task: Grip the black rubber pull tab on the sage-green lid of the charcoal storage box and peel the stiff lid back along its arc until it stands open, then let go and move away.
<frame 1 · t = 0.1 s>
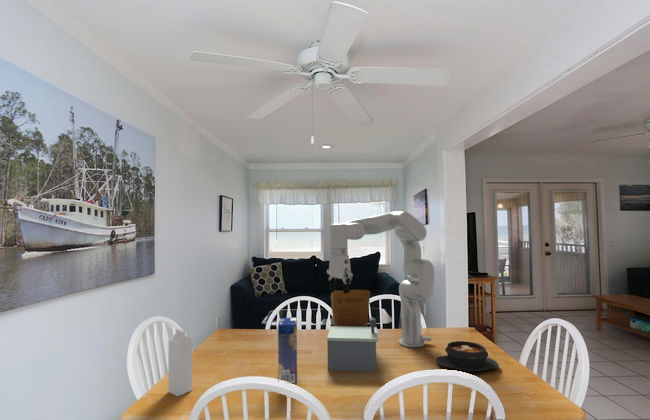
hand: (339, 291, 159), 31 cm above the table, tool pointing down, fingers open, 9 cm apart
beverage box: (288, 377, 145), on the table
pancake mix bag: (351, 346, 180), on the table
storage box: (352, 363, 158), on the table
casserole: (466, 367, 154), on the table
lid: (329, 334, 160), point 12 cm above the table, hinge at 0.0°
milk: (180, 391, 133), on the table
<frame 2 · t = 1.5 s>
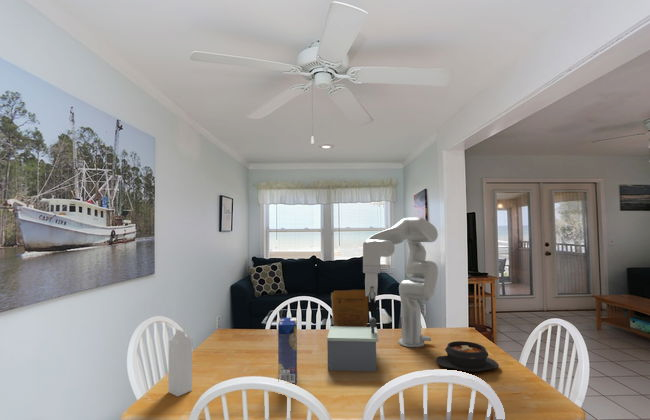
hand: (371, 309, 158), 24 cm above the table, tool pointing down, fingers open, 9 cm apart
nothing on the table moved.
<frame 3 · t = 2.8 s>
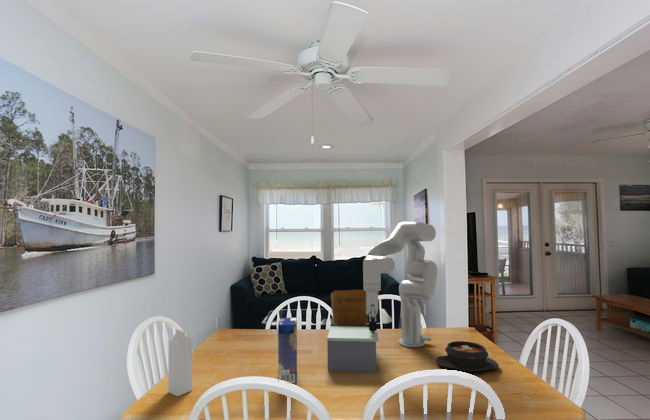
hand: (372, 328, 158), 15 cm above the table, tool pointing down, fingers closed on lid, 5 cm apart
lid: (329, 334, 160), point 12 cm above the table, hinge at 0.0°, touching gripper
everything else where it was.
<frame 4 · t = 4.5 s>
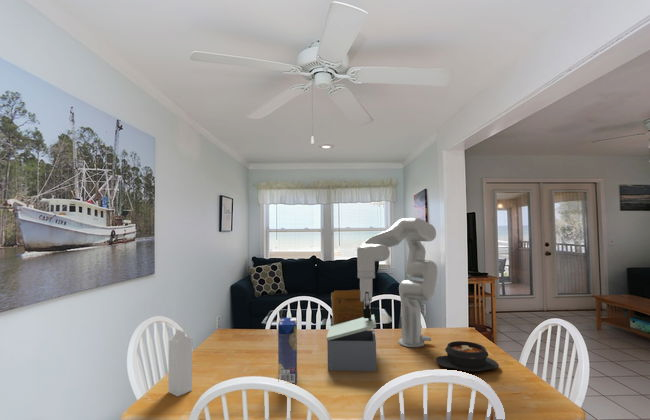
hand: (367, 315, 158), 20 cm above the table, tool pointing down, fingers closed on lid, 5 cm apart
lid: (329, 334, 160), point 12 cm above the table, hinge at 15.9°, touching gripper
everything else where it was.
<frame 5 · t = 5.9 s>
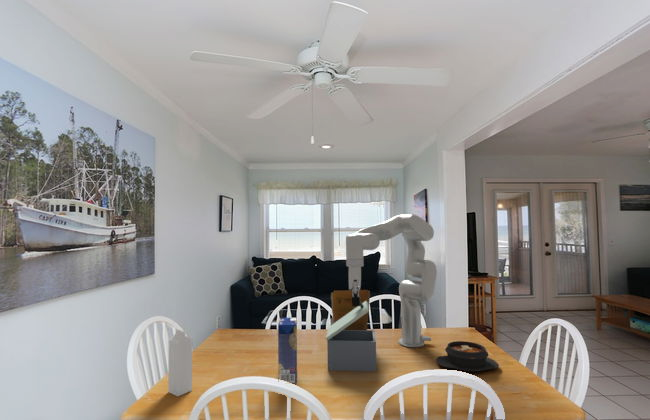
hand: (355, 304, 159), 25 cm above the table, tool pointing down, fingers closed on lid, 5 cm apart
lid: (329, 334, 160), point 12 cm above the table, hinge at 35.3°, touching gripper
everything else where it was.
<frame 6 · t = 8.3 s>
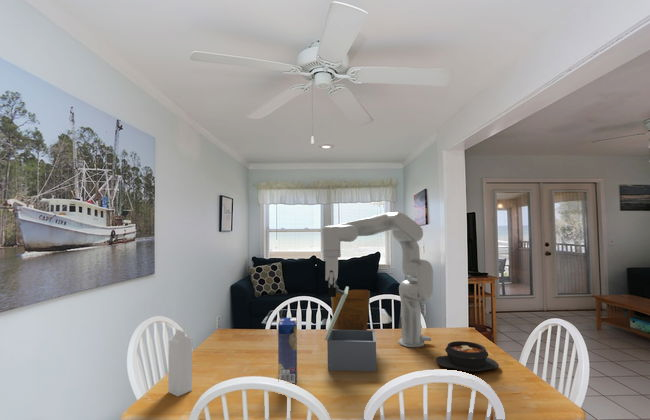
hand: (332, 295, 160), 29 cm above the table, tool pointing down, fingers closed on lid, 5 cm apart
lid: (329, 334, 160), point 12 cm above the table, hinge at 65.8°, touching gripper
everything else where it was.
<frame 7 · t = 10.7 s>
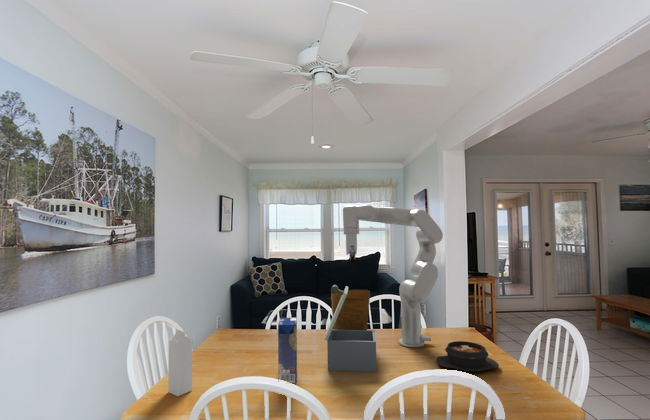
hand: (352, 266, 177), 40 cm above the table, tool pointing down, fingers open, 9 cm apart
lid: (329, 334, 160), point 12 cm above the table, hinge at 66.3°
everything else where it was.
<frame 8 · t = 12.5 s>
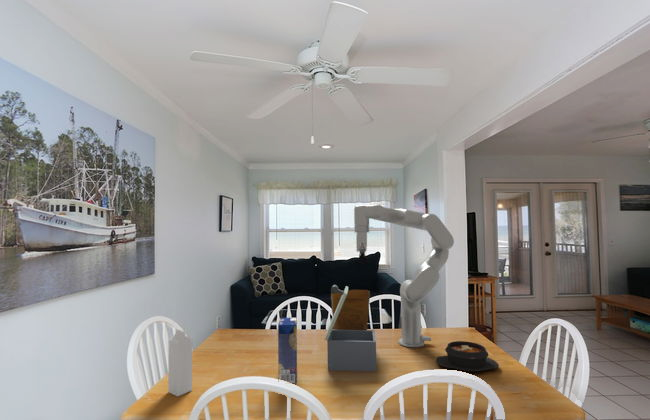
hand: (362, 263, 185), 40 cm above the table, tool pointing down, fingers open, 9 cm apart
nothing on the table moved.
at the end: lid at +66° (first picture: +0°) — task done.
